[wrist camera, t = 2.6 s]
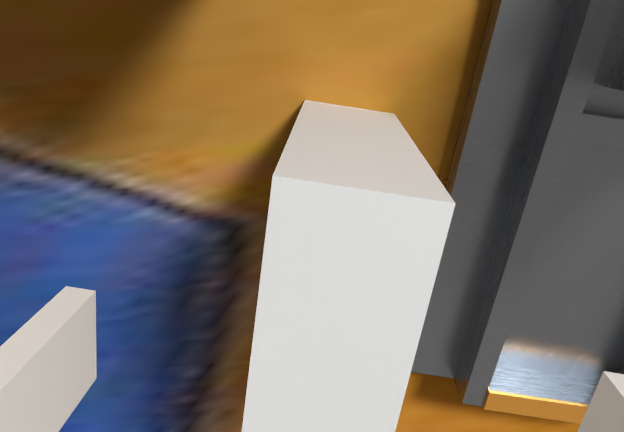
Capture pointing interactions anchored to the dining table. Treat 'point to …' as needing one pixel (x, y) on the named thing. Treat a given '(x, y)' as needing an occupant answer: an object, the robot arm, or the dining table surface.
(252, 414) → the block
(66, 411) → the robot arm
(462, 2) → the dining table surface
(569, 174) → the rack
